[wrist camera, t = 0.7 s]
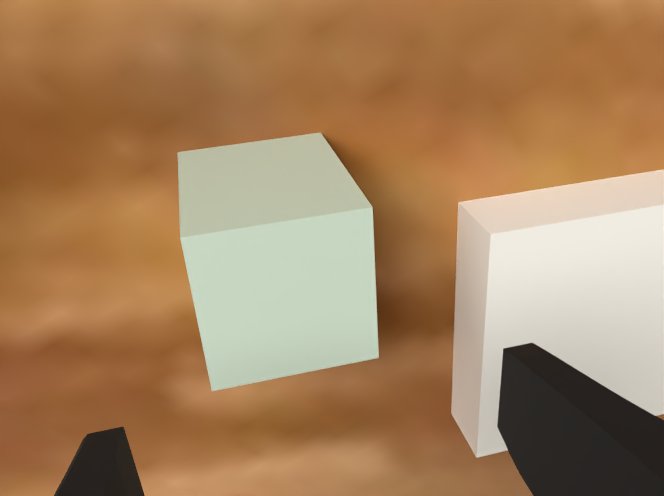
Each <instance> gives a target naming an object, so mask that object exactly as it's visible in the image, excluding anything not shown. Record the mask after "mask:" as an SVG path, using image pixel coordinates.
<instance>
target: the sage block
mask: <svg viewBox="0 0 664 496" xmlns="http://www.w3.org/2000/svg"><path fill="white" fill-rule="evenodd" d="M178 178H179V210H180V239H181V243H182V248H183V253H184V258H185V263H186V268H187V272H188V277H189V282H190V287H191V292H192V297H193V301H194V306H195V311H196V316H197V321H198V326H199V330H200V335H201V340H202V345H203V350H204V355H205V360H206V364H207V369H208V374H209V379H210V384H211V389H212V391H215V390H220V389H225V388H230V387H235V386H240V385H245V384H250V383H255V382H260V381H265V380H270V379H275V378H280V377H285V376H290V375H295V374H300V373H305V372H310V371H315V370H320V369H325V368H330V367H335V366H340V365H345V364H350V363H355V362H360V361H365V360H370V359H375V358H379V351H378V327H377V302H376V278H375V253H374V229H373V207H372V206H371V204H370V203H369V201H368V200H367V198H366V197H365V195H364V194H363V193H362V191H361V190H360V188H359V187H358V185H357V184H356V183H355V181H354V180H353V178H352V177H351V175H350V174H349V173H348V171H347V170H346V168H345V167H344V165H343V164H342V162H341V161H340V160H339V158H338V157H337V155H336V154H335V152H334V151H333V150H332V148H331V147H330V145H329V144H328V142H327V141H326V140H325V138H324V137H323V135H322V134H321V133H314V134H307V135H300V136H293V137H285V138H278V139H271V140H264V141H256V142H249V143H242V144H235V145H227V146H220V147H213V148H206V149H198V150H191V151H184V152H178Z"/></svg>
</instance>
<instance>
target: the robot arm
mask: <svg viewBox="0 0 664 496" xmlns="http://www.w3.org/2000/svg"><path fill="white" fill-rule="evenodd" d="M497 427H498V430H499V432H500V434H501V436H502V438H503V440H504V442H505V445H506V447H507V449H508V451H509V453H510V455H511V457H512V459H513V461H514V463H515V465H516V467H517V469H518V471H519V473H520V475H521V476H522V478H523V480H524V481H525V483H526V484H527V486H528V487H529V489H530V491H531V492H532V494H533V495H534V496H664V420H662V419H660V418H658V417H657V416H655V415H653V414H651V413H649V412H648V411H646V410H644V409H642V408H640V407H639V406H637V405H635V404H633V403H632V402H630V401H628V400H627V399H625V398H623V397H621V396H620V395H618V394H616V393H615V392H613V391H611V390H610V389H608V388H606V387H605V386H603V385H601V384H600V383H598V382H596V381H595V380H593V379H592V378H590V377H588V376H587V375H585V374H583V373H582V372H580V371H579V370H577V369H575V368H574V367H572V366H570V365H569V364H567V363H566V362H564V361H562V360H561V359H559V358H558V357H556V356H554V355H553V354H551V353H549V352H548V351H546V350H544V349H543V348H541V347H539V346H537V345H536V344H534V343H528V344H523V345H518V346H513V347H508V348H503V359H502V372H501V385H500V398H499V410H498V423H497ZM54 496H144V492H143V489H142V486H141V483H140V479H139V476H138V473H137V470H136V466H135V463H134V460H133V456H132V453H131V450H130V447H129V443H128V440H127V437H126V433H125V430H124V427H119V428H114V429H109V430H105V431H100V432H95V433H90V434H87V436H86V437H85V438H84V439H83V441H82V443H81V445H80V447H79V449H78V451H77V453H76V455H75V457H74V459H73V461H72V463H71V464H70V466H69V468H68V470H67V472H66V474H65V476H64V478H63V480H62V482H61V484H60V485H59V487H58V489H57V491H56V493H55V495H54Z"/></svg>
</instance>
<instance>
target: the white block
mask: <svg viewBox="0 0 664 496" xmlns="http://www.w3.org/2000/svg"><path fill="white" fill-rule="evenodd" d="M528 343H534V344H536V345H537V346H539V347H541V348H543V349H544V350H546V351H548V352H549V353H551V354H553V355H554V356H556V357H558V358H559V359H561V360H562V361H564V362H566V363H567V364H569V365H570V366H572V367H574V368H575V369H577V370H579V371H580V372H582V373H583V374H585V375H587V376H588V377H590V378H592V379H593V380H595V381H596V382H598V383H600V384H601V385H603V386H605V387H606V388H608V389H610V390H611V391H613V392H615V393H616V394H618V395H620V396H621V397H623V398H625V399H627V400H628V401H630V402H632V403H633V404H635V405H637V406H639V407H640V408H642V409H644V410H646V411H648V412H649V413H651V414H653V415H655V416H657V415H661V414H664V170H658V171H651V172H645V173H639V174H632V175H626V176H620V177H614V178H607V179H601V180H595V181H589V182H582V183H576V184H570V185H564V186H557V187H551V188H545V189H539V190H532V191H526V192H520V193H514V194H507V195H501V196H495V197H488V198H482V199H476V200H470V201H463V202H458V229H457V259H456V289H455V319H454V348H453V378H452V408H451V414H452V416H453V417H454V419H455V421H456V423H457V424H458V426H459V428H460V430H461V432H462V433H463V435H464V437H465V439H466V440H467V442H468V444H469V446H470V447H471V449H472V451H473V453H474V454H475V456H476V458H478V457H482V456H486V455H490V454H495V453H499V452H503V451H507V450H508V449H507V447H506V445H505V442H504V440H503V438H502V436H501V434H500V432H499V430H498V427H497V423H498V410H499V398H500V385H501V372H502V359H503V348H508V347H513V346H518V345H523V344H528Z"/></svg>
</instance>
